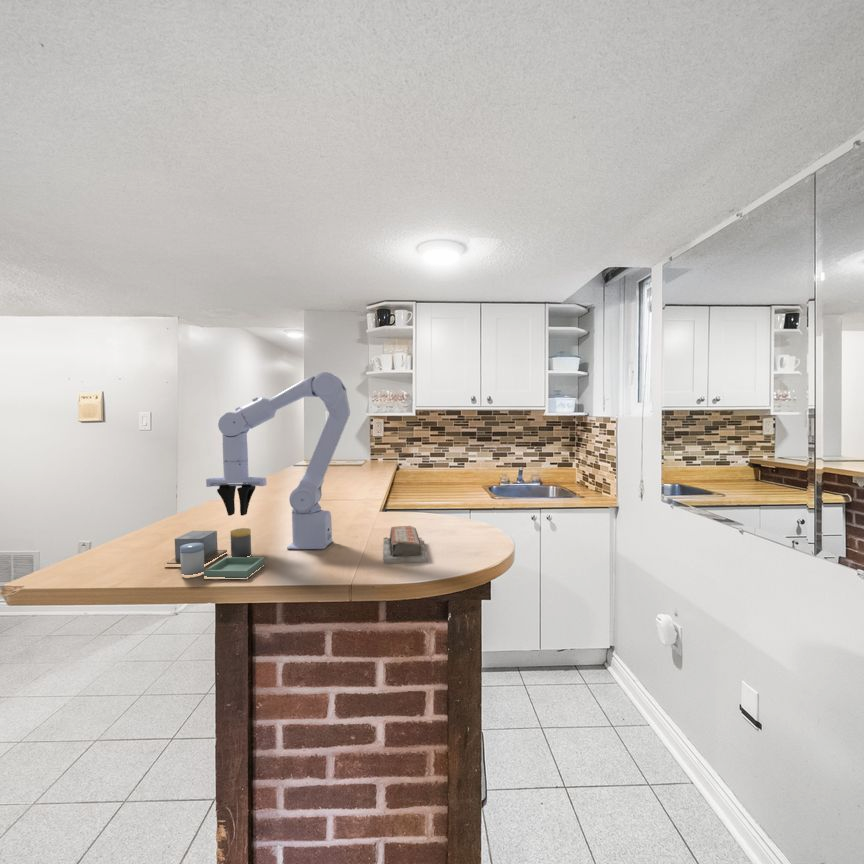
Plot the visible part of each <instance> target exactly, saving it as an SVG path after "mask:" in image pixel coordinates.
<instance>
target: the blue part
mask: <svg viewBox="0 0 864 864" xmlns="http://www.w3.org/2000/svg"><path fill="white" fill-rule="evenodd" d="M180 560H181V568H180V575H181V574H184V575H193V574H198V573H201V572H203V571H204V570H206V569H205V568H206V567H205V568H204V544H203V543H189V544H185V545H182V546H180Z"/></svg>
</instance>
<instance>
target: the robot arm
mask: <svg viewBox="0 0 864 864" xmlns="http://www.w3.org/2000/svg"><path fill="white" fill-rule="evenodd" d="M309 397H311V398H319V399H320V400H321V401H322V402H323V403H324V405H325V407H326V410H327V412H328V417H327V420H326V422H325V424H324V427H323V429H322V431H321V434H320V436H319V439H318V441H317V444H316V446H315V449H314V451H313V453H312V456H311V458H310V460H309V463H308V465H307V468H306V471H305V472H304V474H303V476H302V478H301V479H300V481H299V483H298V486H297V487H296V488H295V489H293V490H292V492H291V493H290V496H289V505H290V506H291V508H292V509H291V523H292V524H291V527H292V534H291V535H292V543H290V544H288V546H287V547H286V549H287V550H325V549H326V548H327V547H328V546H329V545H330V544H331V543H332V542H333V537H332V536H333V534H332V533H333V531H332V530H333V529H332V514H331V512H330V511H329V510H323V509H322V506H321V505H320V503H319V502H320V500H321V498H322V496H323V495H322V493H323V491H322V486H323V484H324V481H325V480H324V479H325V476H326V473H327V471H328V469H329V466H330V463H331V461H332V459H333V456H334V455H335V451H336V449H337V446H338V445H339V442H340V439H341V438H342V435H343V433H344V429H345V427H346V424H347V423H348V420H349V418H350V415H351V410H350V404H349V399H348V393H347V388H346V386H345V385H344V383H343V381H342V380H341V379H340V378H339V376H336V375H335V374H333V373H331V372H327V371H326V372H325V371H324V372H320V373H318V374H316V375H315V376H314V375H313V376H310V377H307V378H306V379H303V380H301V381H300V382H298V383H296V384H294V385H292V386H291V387H289V388H287V389H286V390H284V391H282V392H280V393H278V394H277V395H274V396H273V397H271V398H270V399H269V398H266V397H264V396H263V397H254V398H252V402H250V403H248V404H246V405H244V406H241V407H239V406H238V407H236V408H235V412H231V411H229V412H225V413H224V414H223V415H222V416H221V417H220V418H219V420H218V423H217V424H218V425H217V426H218V429H219V431H220V433H221V434H222V461H223V463H222V464H223V465H222V467H223V477H210V478H207V479H206V480H205V482H206V483H205V484H206V485H205V486H206V487H207V488H211V487H218V488H217V489H216V492H217V494H218V495H219V497H220V498H221V500H222V501H223V504H224V506H225V510H226V513H227V516H233V515H235V510H236V507H235V495H236V489H237V493H238V498H239V512H240V513H239V514H240V516H242V517H243V516H246V515H247V514H248V509H249V505H250V502H251V498H252V497H253V494H254V492H255V490H256V488H257V487H265V486H267V477H261V476H259V477H258V476H253V477H252V476H249V455H248V453H249V452H248V451H249V450H248V433H249V431H250V430H251V429H254V428H256V427H258V426H260V425H261V424H263V423H266V422H267V421H270V420H272V419H273V418H275V416H276V413H277V411H278V410H280V409H283V408H284V407H286V406H289V405H291V404H292V403H294V402H297V401H299V400H302V399H303V398H309Z"/></svg>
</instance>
